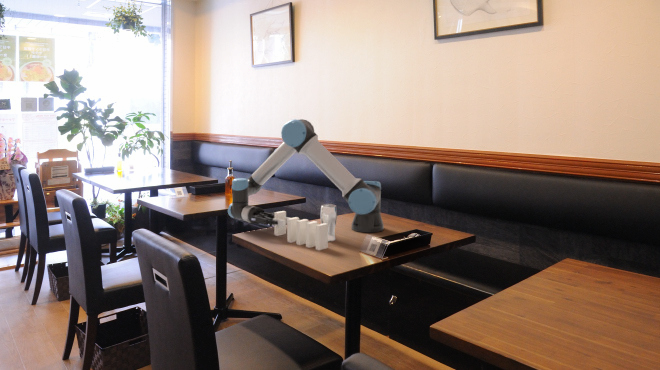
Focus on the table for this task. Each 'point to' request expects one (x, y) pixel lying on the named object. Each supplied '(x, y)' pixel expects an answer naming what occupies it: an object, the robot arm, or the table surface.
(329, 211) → the silver metal tumbler
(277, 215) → the tile
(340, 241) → the table surface
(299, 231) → the tile
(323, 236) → the tile
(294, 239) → the tile
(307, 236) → the tile
